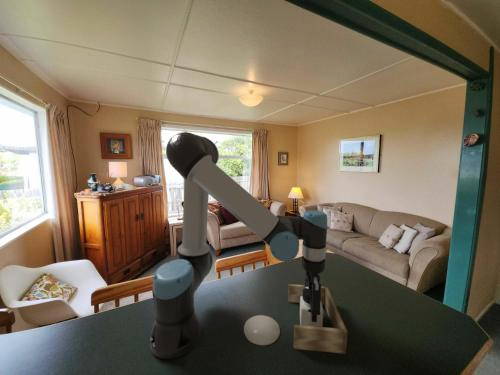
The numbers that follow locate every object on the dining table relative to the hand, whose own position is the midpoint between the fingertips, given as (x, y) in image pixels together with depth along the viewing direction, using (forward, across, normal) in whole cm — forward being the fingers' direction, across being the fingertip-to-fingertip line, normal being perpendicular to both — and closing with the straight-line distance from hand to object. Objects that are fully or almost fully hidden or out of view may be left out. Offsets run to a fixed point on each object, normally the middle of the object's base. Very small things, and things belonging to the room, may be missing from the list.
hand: (310, 318), depth 72 cm
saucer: (+1, -5, +17) cm, 18 cm away
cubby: (+1, 0, 0) cm, 1 cm away
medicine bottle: (+1, 0, 0) cm, 1 cm away
